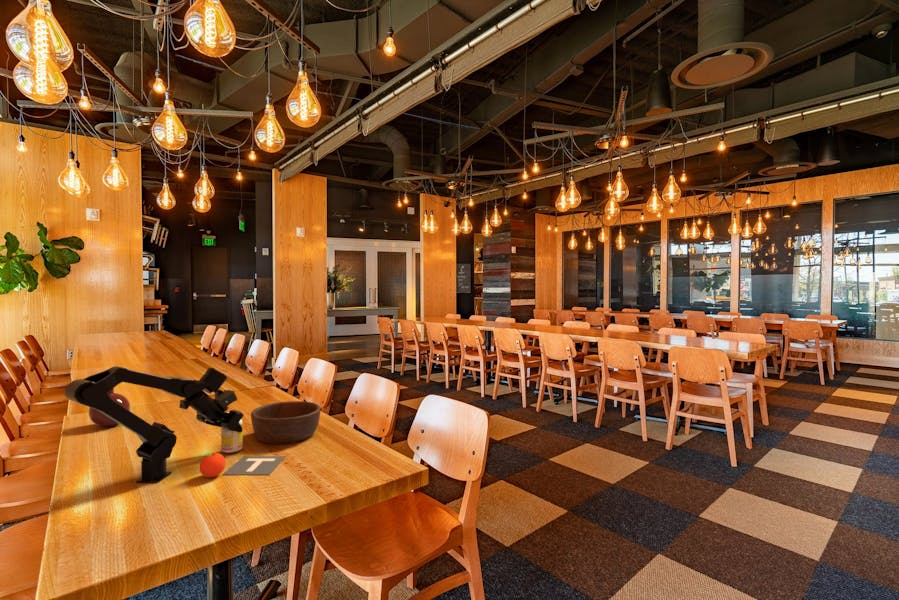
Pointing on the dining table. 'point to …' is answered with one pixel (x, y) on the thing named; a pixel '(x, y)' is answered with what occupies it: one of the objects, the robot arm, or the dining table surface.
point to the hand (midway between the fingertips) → (235, 429)
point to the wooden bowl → (285, 421)
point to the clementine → (212, 464)
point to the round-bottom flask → (103, 419)
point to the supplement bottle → (231, 439)
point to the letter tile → (255, 465)
